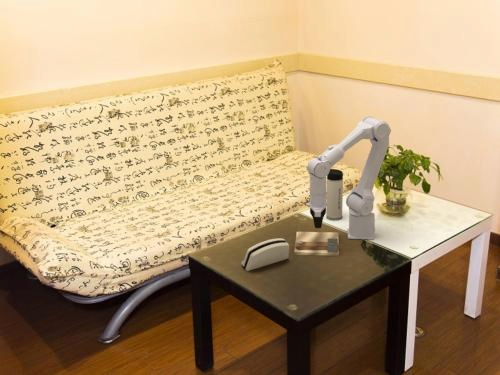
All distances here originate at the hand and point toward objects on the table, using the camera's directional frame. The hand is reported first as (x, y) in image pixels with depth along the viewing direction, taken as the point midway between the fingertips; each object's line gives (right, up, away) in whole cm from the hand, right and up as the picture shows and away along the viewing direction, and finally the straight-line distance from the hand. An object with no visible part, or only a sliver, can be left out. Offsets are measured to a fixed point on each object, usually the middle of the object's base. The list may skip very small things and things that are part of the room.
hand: (318, 227), depth 211 cm
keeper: (+5, -8, -4) cm, 10 cm away
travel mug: (+9, +2, +24) cm, 26 cm away
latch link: (-1, -7, -3) cm, 8 cm away
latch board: (0, -6, +2) cm, 7 cm away
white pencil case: (-19, -12, -10) cm, 24 cm away
